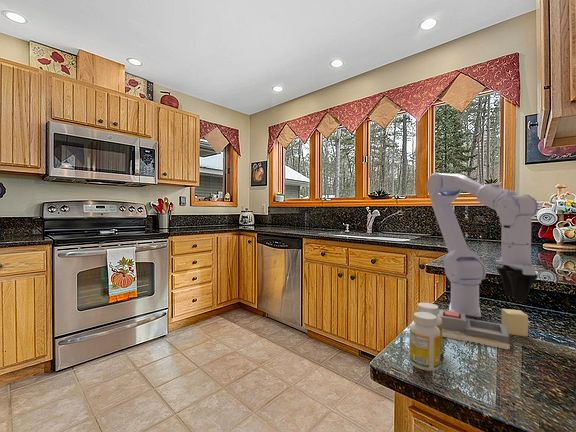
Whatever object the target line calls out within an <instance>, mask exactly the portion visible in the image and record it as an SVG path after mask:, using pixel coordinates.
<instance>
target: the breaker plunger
mask: <svg viewBox="0 0 576 432" xmlns="http://www.w3.org/2000/svg"><path fill="white" fill-rule="evenodd" d="M445 316H447V317H453V318H459V313H458V312H451V311H449V310H446V311H445Z"/></svg>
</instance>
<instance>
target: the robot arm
mask: <svg viewBox="0 0 576 432" xmlns="http://www.w3.org/2000/svg"><path fill="white" fill-rule="evenodd" d="M425 186H426V187H425V188H426V190H427V193H428V195H429V198H430V201H431V207H432V209H433V212H434V213H433V214H434V216H435V218H436V220H437V221H436V222H437V224H438V227H439V230H440V232H441V236H442V238H443V241H444V244H445V247H446V249H447V252H448V253H447V254H446V255H445V256H444V258H443V260H442V261H443V265H444V274H445V276H446V278H447V279H448V281H449V282H450V302H449V307H448V311H452V312H459V313H465V316H470V317H476V318H481V317H482V313H481V312H482V311H481V308H480V284H482V280H483V279H484V278H486V275H487V268H486V266H485V264H484V263H483V262H482V261H481V259H480V258H479V255H478V254H477V253H476V252H475V251H472V250H471V249H469V247H468V245H467V242H466V240H465V237H464V235H463V232H462V229H461V226H460V225H459V221H458V219H457V216H456V213H455V212H454V211H455V210H454V209H453V205H452V203H453V202H455V201H456V200H457V198H458V197H459V195H460V194H461V192H462V191H463V192H465V193H469V194H470V195H472V196H475V197H476V200H477V202H478V203H480V204H482V205H484V206H486V207H488V208H490V209H492V210H494V211H495V212H496V215H497V216H498V217H499V223H500V225H501V234H500V235H501V242H500V243H501V246H500V248H501V250H500V251H501V253H500V256H499V259H495V263H496V264H500V265H501V266H496V267H495V268H496V270H497V272H498V275H499V276H500V279H501V282H502V286H503V291H504V293H505V295H506V296H508V297H512V298H513V301H514V302H521V303H526V301H527V298H528V295H529V293H530V290H531V287H532V286H533V284H534V283H535V281H536V280H537V279H538V277H539V276H538V274H536V266H534V265H533V263H532V217H534V216H535V215H536V214H537V212H538V210H539V209H538V208H539V203H538V202H537V200H536V199H535V198H534V197H533V196H531V195H530V194H521V195H518V194H517V193H516V191H515V190H513V189H512V190H511V189H509V190H508V189H506V188H502V187H501V184H499V183H496V182H495V183H494V182H492V183H487V184H482V183H480V182H477V181H475V180H473V179H472V178H469V177H468V176H467V175H465V174H462V173H440V172H433V173H431V174H430V175H429V177H428V179H427V182H426V185H425Z"/></svg>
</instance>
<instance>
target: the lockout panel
mask: <svg viewBox="0 0 576 432" xmlns="http://www.w3.org/2000/svg"><path fill="white" fill-rule="evenodd" d="M445 311H447V310H445V309H439V312H438V314H437V315H438V316H439V317H441V319H442V338H448V339H454V340H457V341H458V340H459V341H462V340H463V341H464V342H467V341H469V342H468V343H472V342H475V343H474V344H477V343H480V344H479V345H482V344H485V345H484V346H487V345H490V346H489V347H492V346H494V347H493V348H497V347H498V349H504V350H508V349H509V350H511V347H510V346H511V345H510V334H508V333H507V330H506V328H505V325H504V324H502V323H497V322H490V321H484V320H480V319H473V318H467V317H466V316H467V315H465V313H459V312H458V313H459V318H453V317H447V316H445ZM451 312H452V311H451Z"/></svg>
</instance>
